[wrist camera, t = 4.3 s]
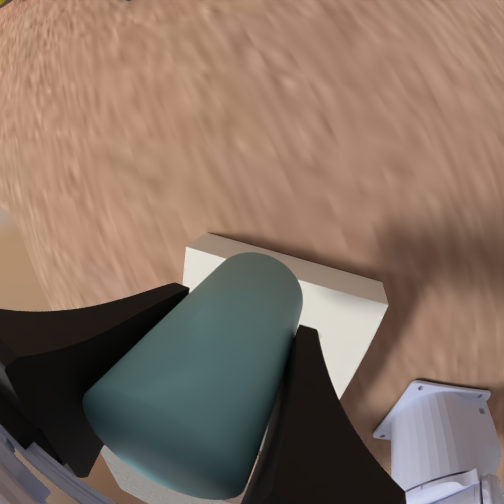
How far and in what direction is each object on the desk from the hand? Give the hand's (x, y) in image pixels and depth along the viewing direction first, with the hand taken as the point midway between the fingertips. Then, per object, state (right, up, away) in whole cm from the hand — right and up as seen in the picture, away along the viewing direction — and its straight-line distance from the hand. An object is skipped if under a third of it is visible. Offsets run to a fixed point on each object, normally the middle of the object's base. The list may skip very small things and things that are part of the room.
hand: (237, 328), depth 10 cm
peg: (+1, +1, +2) cm, 2 cm away
